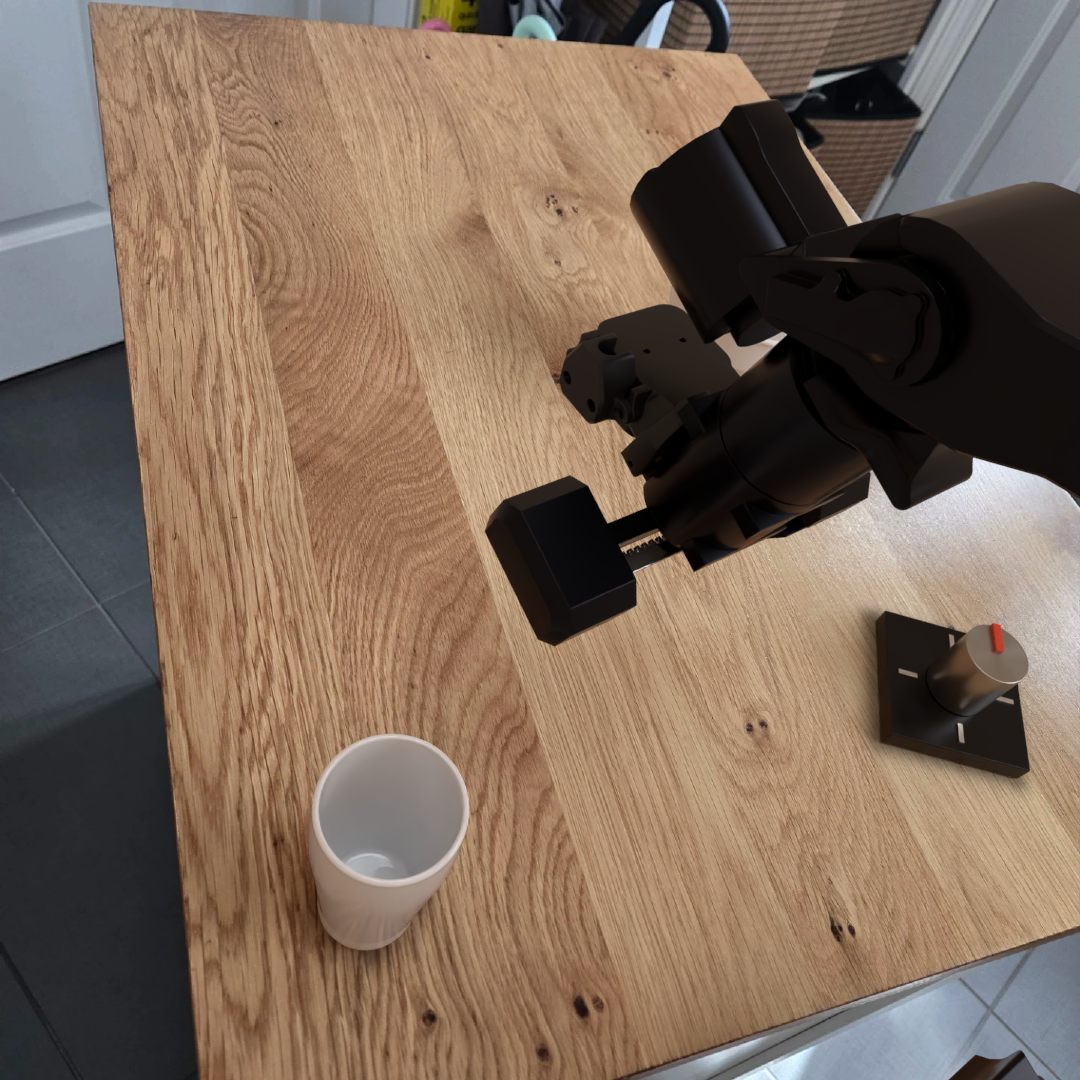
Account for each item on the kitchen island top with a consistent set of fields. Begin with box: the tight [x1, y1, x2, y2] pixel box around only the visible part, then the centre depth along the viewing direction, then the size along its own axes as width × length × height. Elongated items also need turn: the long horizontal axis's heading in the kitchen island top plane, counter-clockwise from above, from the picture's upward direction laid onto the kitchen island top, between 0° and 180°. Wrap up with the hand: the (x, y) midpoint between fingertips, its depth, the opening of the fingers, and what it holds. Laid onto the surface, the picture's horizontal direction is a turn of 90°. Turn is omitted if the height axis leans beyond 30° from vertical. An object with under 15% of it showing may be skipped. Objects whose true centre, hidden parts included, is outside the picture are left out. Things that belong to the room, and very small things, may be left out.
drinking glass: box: [307, 733, 470, 951], centre depth 46 cm, size 7×7×15 cm
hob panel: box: [875, 610, 1031, 779], centre depth 68 cm, size 10×10×2 cm
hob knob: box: [927, 622, 1030, 716], centre depth 65 cm, size 4×4×5 cm
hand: (614, 563), depth 51 cm, fingers open, 9 cm apart
